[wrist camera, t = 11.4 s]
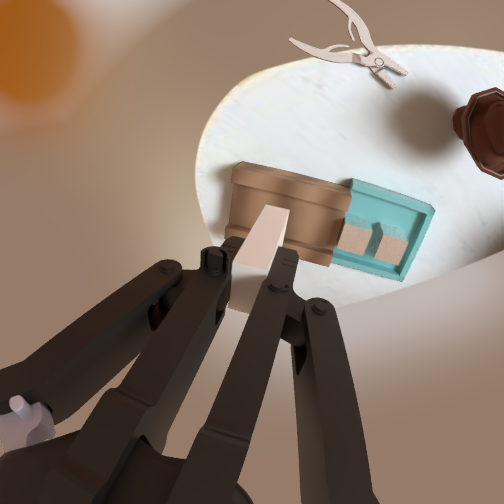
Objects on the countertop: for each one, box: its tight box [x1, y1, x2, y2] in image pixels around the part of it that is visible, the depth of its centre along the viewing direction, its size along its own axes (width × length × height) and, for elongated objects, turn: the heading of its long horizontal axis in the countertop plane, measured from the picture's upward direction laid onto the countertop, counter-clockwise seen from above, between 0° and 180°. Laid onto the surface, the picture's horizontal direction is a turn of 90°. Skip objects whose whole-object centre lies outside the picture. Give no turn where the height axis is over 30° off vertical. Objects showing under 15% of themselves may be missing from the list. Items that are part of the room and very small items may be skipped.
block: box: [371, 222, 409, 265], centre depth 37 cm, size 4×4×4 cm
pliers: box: [289, 0, 408, 89], centre depth 27 cm, size 10×2×15 cm
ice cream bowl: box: [453, 87, 504, 180], centre depth 21 cm, size 11×11×15 cm
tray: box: [331, 178, 435, 282], centre depth 39 cm, size 13×13×2 cm
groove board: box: [224, 161, 352, 267], centre depth 40 cm, size 16×11×4 cm
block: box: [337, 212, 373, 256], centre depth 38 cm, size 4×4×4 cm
